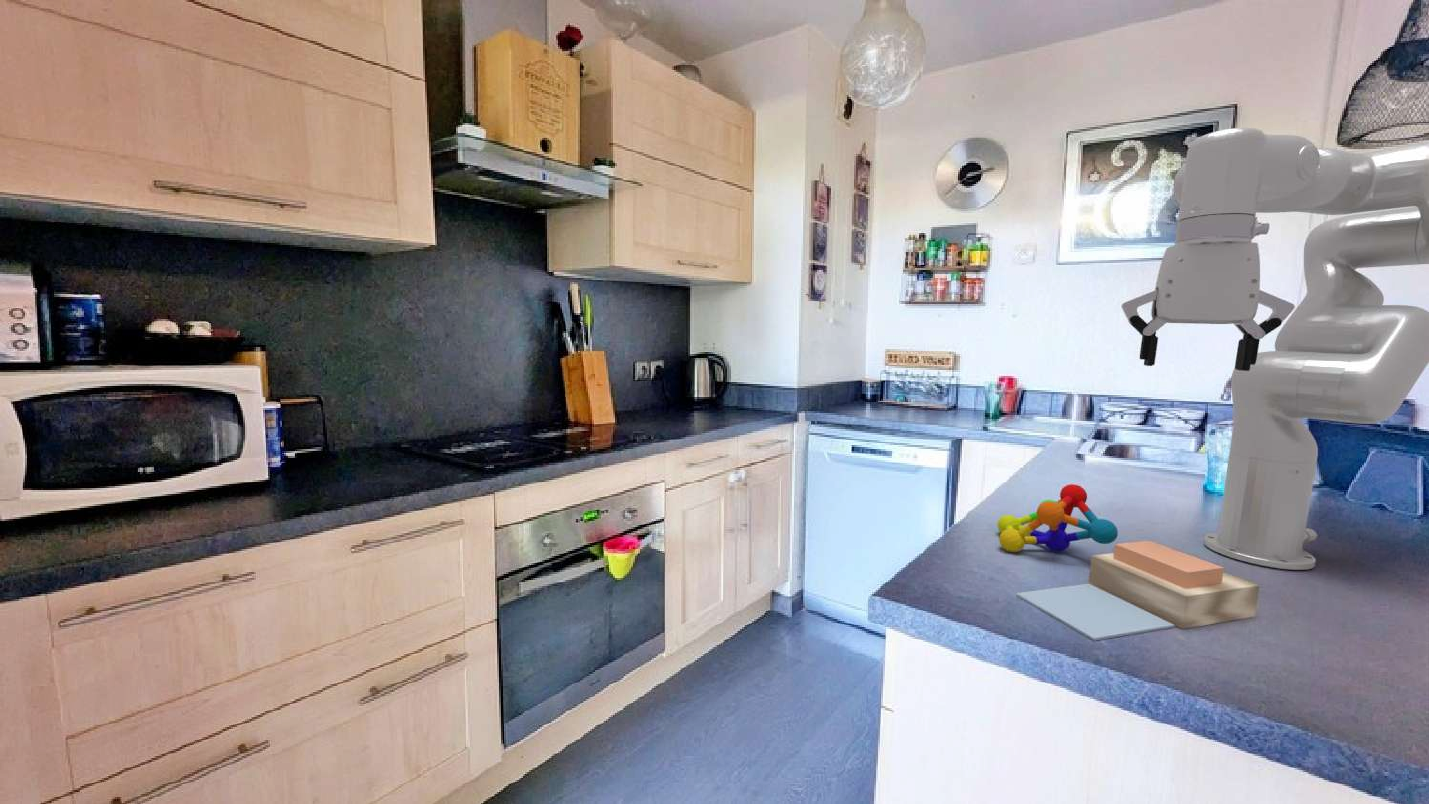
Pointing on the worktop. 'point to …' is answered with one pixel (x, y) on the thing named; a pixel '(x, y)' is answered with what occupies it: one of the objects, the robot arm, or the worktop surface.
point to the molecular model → (1056, 524)
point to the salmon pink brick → (1169, 564)
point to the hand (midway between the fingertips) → (1193, 367)
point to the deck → (1175, 594)
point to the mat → (1094, 611)
